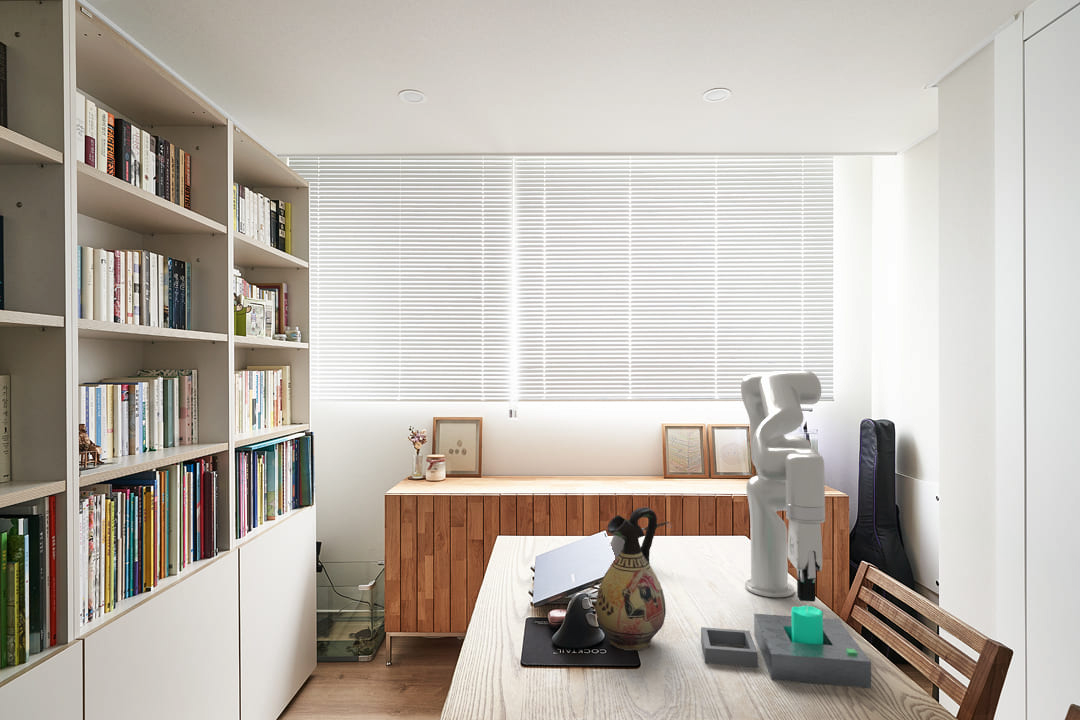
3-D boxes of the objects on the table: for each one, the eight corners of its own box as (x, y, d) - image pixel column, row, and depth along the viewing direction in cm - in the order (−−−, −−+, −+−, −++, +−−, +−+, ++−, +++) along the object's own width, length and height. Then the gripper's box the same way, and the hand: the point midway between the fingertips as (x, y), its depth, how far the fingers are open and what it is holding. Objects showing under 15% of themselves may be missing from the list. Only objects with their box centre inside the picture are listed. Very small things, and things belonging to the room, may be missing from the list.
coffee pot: (600, 563, 189) (600, 515, 190) (618, 554, 198) (617, 509, 199) (662, 576, 176) (662, 525, 177) (678, 566, 186) (677, 517, 186)
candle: (822, 657, 126) (821, 600, 126) (824, 670, 120) (823, 610, 120) (791, 652, 128) (790, 596, 128) (792, 665, 122) (791, 606, 123)
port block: (754, 635, 136) (754, 611, 136) (838, 641, 133) (838, 616, 133) (771, 679, 117) (771, 651, 117) (871, 688, 113) (870, 659, 113)
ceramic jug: (620, 665, 123) (619, 518, 123) (583, 635, 137) (583, 504, 137) (686, 648, 130) (685, 510, 131) (645, 622, 144) (644, 497, 145)
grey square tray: (701, 640, 134) (700, 627, 134) (749, 644, 132) (749, 630, 132) (705, 662, 124) (705, 648, 124) (757, 667, 122) (757, 652, 122)
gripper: (779, 503, 134) (779, 586, 133) (794, 520, 119) (795, 612, 119) (814, 505, 132) (815, 588, 132) (835, 522, 118) (836, 615, 117)
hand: (806, 599), depth 125 cm, fingers closed
